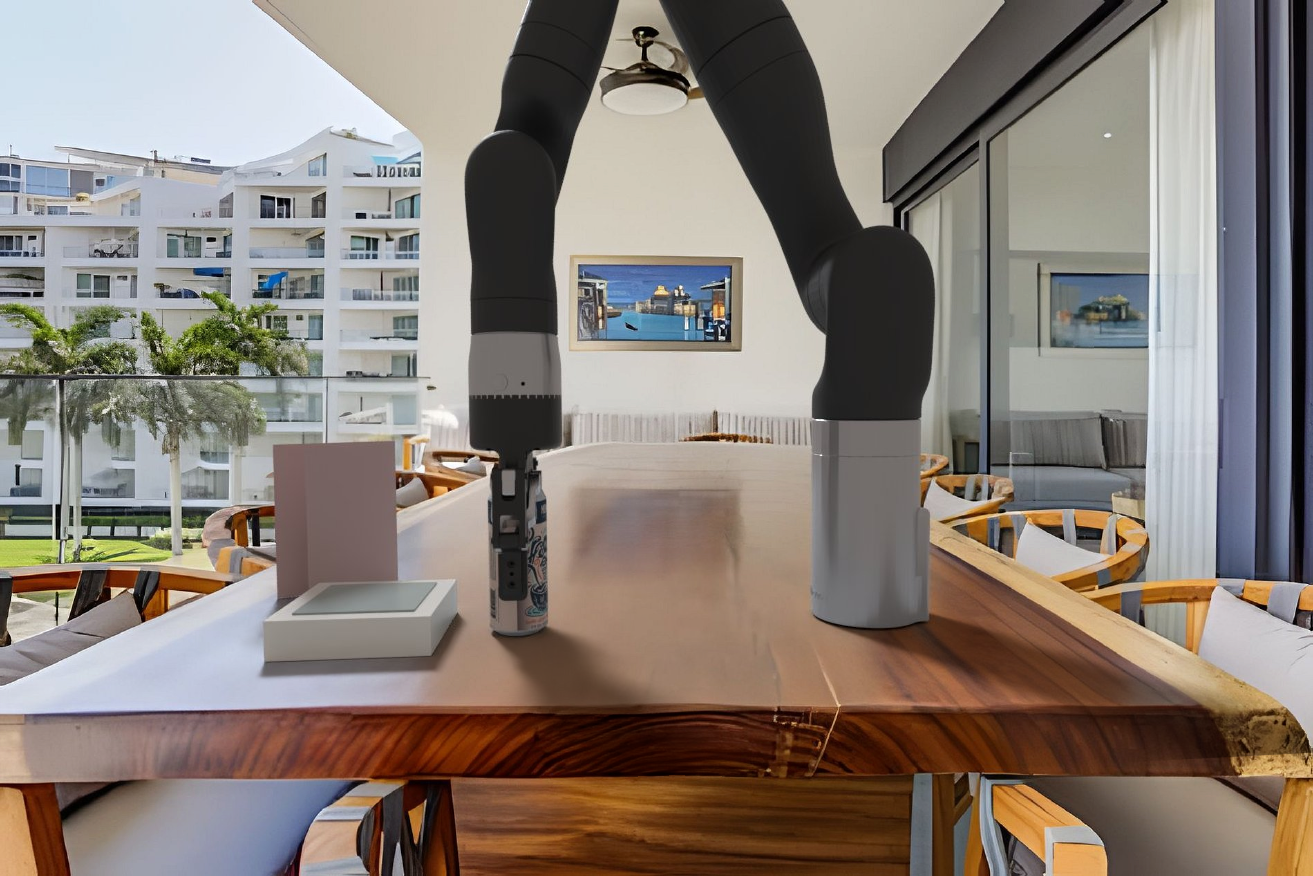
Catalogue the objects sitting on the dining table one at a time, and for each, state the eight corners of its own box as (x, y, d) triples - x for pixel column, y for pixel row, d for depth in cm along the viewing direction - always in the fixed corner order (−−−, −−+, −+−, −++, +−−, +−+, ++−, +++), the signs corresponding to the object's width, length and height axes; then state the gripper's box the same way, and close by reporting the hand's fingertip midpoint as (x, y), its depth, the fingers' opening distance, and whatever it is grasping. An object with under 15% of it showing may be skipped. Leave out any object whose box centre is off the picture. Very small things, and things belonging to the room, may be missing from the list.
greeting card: (396, 581, 81) (393, 440, 81) (413, 596, 75) (410, 443, 74) (276, 596, 76) (271, 444, 75) (284, 614, 69) (279, 447, 68)
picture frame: (457, 612, 69) (457, 577, 69) (431, 655, 57) (430, 614, 57) (320, 616, 68) (319, 581, 68) (264, 661, 56) (262, 619, 56)
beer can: (536, 640, 61) (534, 490, 61) (480, 636, 62) (477, 489, 62) (555, 623, 66) (554, 483, 65) (503, 620, 67) (501, 482, 66)
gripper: (558, 390, 56) (561, 608, 57) (564, 392, 70) (566, 567, 71) (454, 390, 56) (458, 611, 56) (480, 392, 70) (483, 569, 71)
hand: (518, 586), depth 64 cm, fingers open, 8 cm apart
